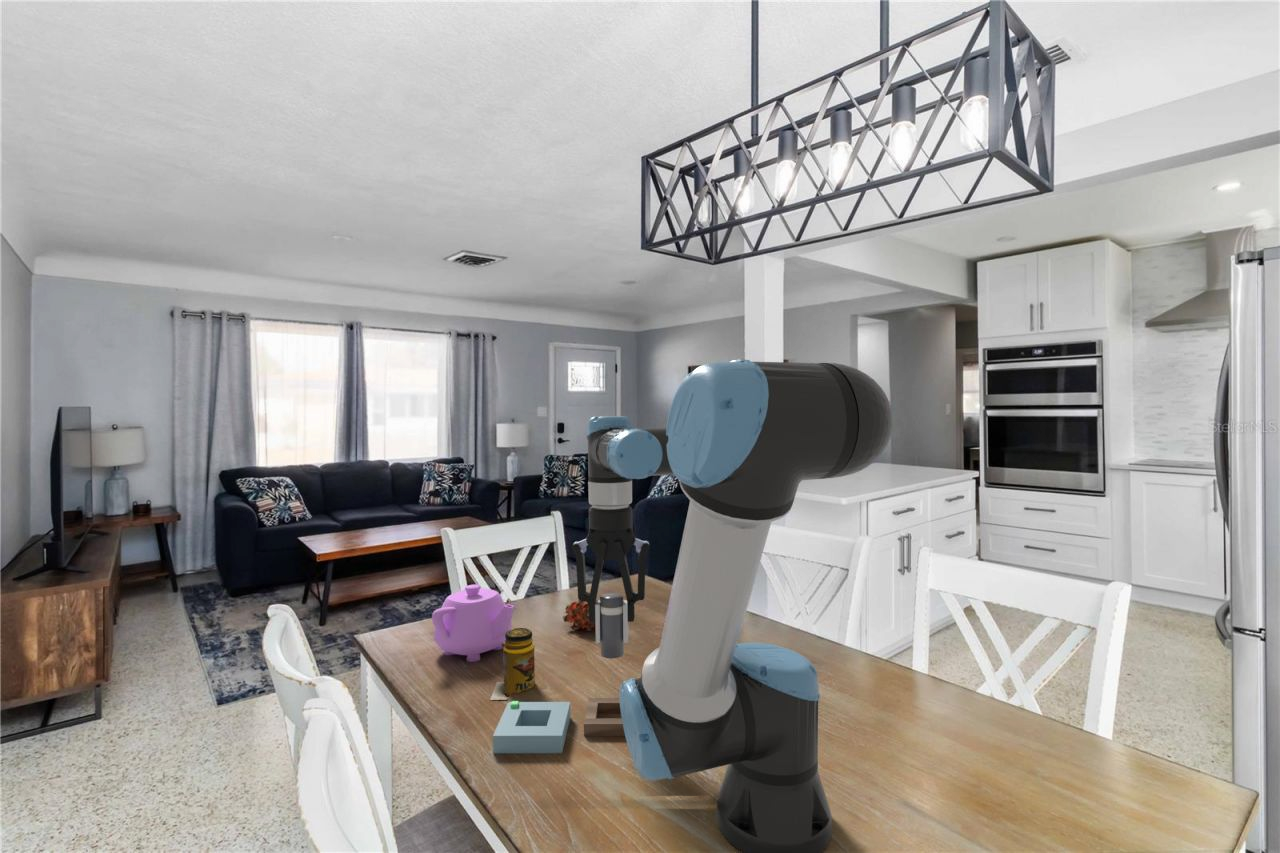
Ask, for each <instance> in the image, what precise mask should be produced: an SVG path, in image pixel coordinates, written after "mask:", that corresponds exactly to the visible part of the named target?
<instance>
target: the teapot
mask: <svg viewBox="0 0 1280 853" xmlns="http://www.w3.org/2000/svg"><path fill="white" fill-rule="evenodd" d="M515 609H516V606H515V605H512V604H509V603H507V604H506V603H505V601H504V599H503V597H502V596H501V594H500V593H499V591H497V590H495V589H494V590H493V589H490V588H485V587H484V588H483V587H481V585H480V584H469V585H466V586H465V587H464V589H462V590H459V591H457V592H453V593H451V594H450V595H447V597H446V598H445V600H444V602H443V604H442V605H441V607H440V608H437V609H435V610H434V611H433V612H432V614H431V620H432V624H433V625H434V629H433V640H434V642H435V644H437V646H438V647H439V648H440V649H441V650H442V651H444V652H443V653H442V654H443V655H444V656H453V655H459V656H466V662H469V663H475V662H478V661H480V660H481V659H482V658H481V654H482V653H485V652H489V651H499V650H503V648H504V646H503V643H505V640H506V638H505V634H506V632H508V631H509V630H511V629H513V628H512V618H513V615H514V611H515Z"/></svg>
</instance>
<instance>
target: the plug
mask: <svg viewBox="0 0 1280 853" xmlns="http://www.w3.org/2000/svg"><path fill="white" fill-rule="evenodd" d="M599 600H600V628H601V641H600V656H601V657H603V658H605V659H618V658H621V657H623V656H624V655H625V647H624V646H625V644H624V643H623V600H624V595H623V594H621V593H617V592H615V593H614V592H608V593H604V594H601V595H600V596H599Z"/></svg>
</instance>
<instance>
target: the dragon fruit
mask: <svg viewBox="0 0 1280 853" xmlns="http://www.w3.org/2000/svg"><path fill="white" fill-rule="evenodd" d="M564 613H565V615H563V616H562V620H563V622H565V623H570V624H572V623H573V624H572V627H573V629H574V630H576V631H578V630H581V629H582V630H583V631H592V630H593V628H596V626H595V622H590V621H589V604H588V603H587V602H585V601H580V600H579V599H578V601H573V602H570V604H568V605H567V606H566V607H565V611H564Z"/></svg>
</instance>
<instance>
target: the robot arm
mask: <svg viewBox="0 0 1280 853" xmlns="http://www.w3.org/2000/svg"><path fill="white" fill-rule="evenodd" d="M893 415H894V414H893V410H892V407H891V403H890V400H889V399H888V396H887V394H886V393H885V391H884V390H883V388H882V386H880V384H878V383H877V381H875V379H873V378H872V377H871V376H869V374H866V373H865V372H863V371H861V370H860V369H858V368H855V367H853V366H849V365H846V364H841V363H836V362H835V363H834V362H818V363H817V362H816V363H815V362H788V361H787V362H786V361H785V362H782V361H780V362H779V361H751V360H750V359H736V360H735V359H734V360H731V361H721V362H720V361H717V362H715V361H714V362H707V363H704V364H701V365H700V366H698V367H696V368H695V369H694V370H692V371H691V372H689V373H688V374H687V375H686V376H685V377H684V379H683V380H682V381H681V383H680V384H679V386H678V388H677V389H676V391H675V394H674V396H673V399H672V400H671V404H670V408H669V411H668V416H667V421H666V427H662V428H660V427H659V428H658V427H657V428H656V427H655V428H653V427H652V428H632V420H631V418H630V417H629V416H623V415H620V416H619V415H617V416H616V415H613V416H610V415H609V416H608V415H607V416H592V417H590V418H589V419H588V422H587V425H588V426H587V435H586V439H587V460H588V461H587V463H588V464H587V465H588V466H587V468H588V470H587V472H588V482H587V485H588V503H589V505H590V507H589V508H588V534H587V535H586V538H584V539H582V540H580V541H578V540H576V541H573V544H572V546H571V549H572V552H573V555H574V556H575V562H576V563H575V564H576V565H575V568H576V584H577V586H576V587H577V598H578V601H579V600H580V601H585V602H587V603H588V604H589V621H590V622H595V626H596V627H595V644H601V628H600V599H599V600H597V597H598V591H599V587H600V583H601V582H600V581H601V577H602V573H603V572H602V571H603V567H604V563H605V561H608V560H609V561H610V560H613V561H617V563H618V567H619V570H620V575H621V580H622V585H623V588H624V593H625V598H626V599H623V643H625V644H628V643H629V623H631V622H634V621H635V604H636V602H639V601H644V599H645V594H646V592H645V591H646V590H645V589H646V558H647V557H646V556H647V555H648V551H649V550H650V542H649V541H648V540H641V539H640V538H637V537H636V535H635V533H634V530H633V528H634V526H633V507H632V506H631V505H630V504H632V502H633V480H635V479H636V480H640V479H641V480H642V479H646V478H648V477H651V476H670V475H671V476H673V475H674V476H675V477H676V479H677V480H678V481H679V485H680V489H681V490H682V492H683V493H684V495H685V496H686V498H688V500H689V505H688V510H687V515H686V519H685V523H684V528H683V533H682V538H681V543H680V547H679V553H678V556H677V562H676V566H675V572H674V577H673V579H672V580H673V581H672V586H671V591H670V595H669V600H668V605H667V609H666V614H665V620H664V624H663V629H662V635H661V638H660V644H659V647H657V648H655V649H654V650H653V651H652V652H651V653H650V654H649V655H648V656H646V658H645V660H644V663H643V666H642V671H641V674H640V678H634V677H631V678H630V679H627V680H624V681H622V683H621V685H620V688H619V694H618V695H619V697H618V698H620V710H621V717H622V723H623V728H624V732H625V736H624V737H625V740H626V744H627V748H628V751H629V753H630V757H631V760H632V763H633V765H634V767H635V769H636V770H637V772H638V774H639V775H640V776H641V777H642V778H643V779H645V780H646V781H648V782H649V781H651V782H653V781H660V780H664V779H665V780H666V779H669V780H674V779H675V778H678V777H682V776H686V775H691V774H694V773H698V772H704V771H706V770H711V769H715V768H720V767H725V766H727V767H726V770H725V773H724V776H723V779H722V782H721V784H720V788H719V791H718V793H717V798H716V822H717V825H718V828H719V830H720V832H721V834H722V835H723V836H724V838H725V839H726V840H727V841H728V842H729V843H730V844H731V845H732V846H734V847H735V848H736V849H738V850H739V851H741V852H743V853H822V852H823V851H824V850H826V848H827V847H828V845H829V843H830V842H831V839H832V812H831V807H830V805H829V802H828V798H827V796H826V793H825V789H824V786H823V783H822V779H821V777H820V773H819V766H818V765H819V759H818V758H819V701H820V696H821V695H820V692H819V681H818V680H819V679H818V671H817V670H816V669H817V668H816V667H815V665H814V664H813V663H812V662H811V661H810V660H809V659H808V658H807V657H806V656H804V655H802V654H801V653H799V652H797V651H794V650H792V649H789V648H786V647H783V646H779V645H775V644H771V643H763V642H743V643H742V642H741V643H738V640H739V638H740V633H741V631H742V627H743V623H744V619H745V617H746V616H745V615H746V612H747V610H748V606H749V602H750V599H751V595H752V592H753V589H754V588H753V587H754V584H755V582H756V578H757V575H758V574H757V573H758V571H759V567H760V564H761V560H762V558H763V557H762V556H763V553H764V549H765V546H766V542H767V540H768V535H769V532H770V528H771V525H772V522H774V521H778V520H781V519H782V518H784V517H786V516H787V515H788V514H789V513H790V512H791V510H792V507H793V504H794V501H795V498H796V495H797V491H798V488H799V485H800V483H802V481H807V480H808V481H809V480H825V479H834V478H842V477H845V476H849V475H850V476H851V475H853V474H856V473H859V472H861V471H863V470H865V469H866V468H868V467H870V466H871V465H872V464H873V463H874V462H875V461H877V459H879V457H880V456H881V455H883V453H884V451H885V449H886V448H887V446H888V444H889V441H890V440H891V436H892V432H893V426H894V418H893V417H894V416H893ZM587 546H589V548H590V549H591V550H592V552H593V553H594V554H595V556H596V560H595V564H594V566H595V567H594V572H593V574H592V575H593V577H592V581H591V586H590V592H588V591H587V583H586V578H587V577H586V559H585V557H586V556H585V554H586V552H587ZM633 546H635V551H636V553H638V560H637V561H638V563H637V564H638V565H637V591H634V588H633V585H632V584H633V583H632V578H631V576H630V570H629V566H628V560H627V554H628V553H629V552H630V550H631V549H632V547H633Z"/></svg>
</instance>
